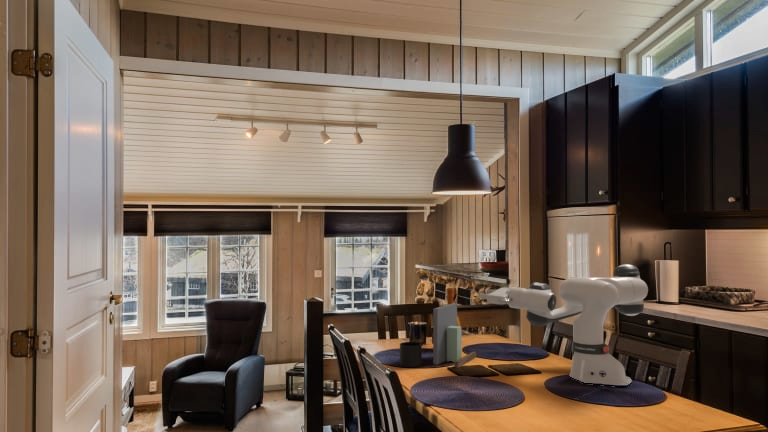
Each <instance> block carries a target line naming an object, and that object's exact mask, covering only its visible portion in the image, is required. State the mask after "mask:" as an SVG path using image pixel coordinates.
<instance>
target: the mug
mask: <svg viewBox="0 0 768 432" xmlns="http://www.w3.org/2000/svg"><path fill="white" fill-rule="evenodd" d="M422 345H423V344H422V343H420V342H417V341H403V342H400V343H399V365H400V366H401V367H404V368H418V367H419V368H420V367H421V366H422V360H423V359H422V357H423V356H422V355H423V354H422V351H423V349H422V348H423V347H422Z"/></svg>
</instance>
